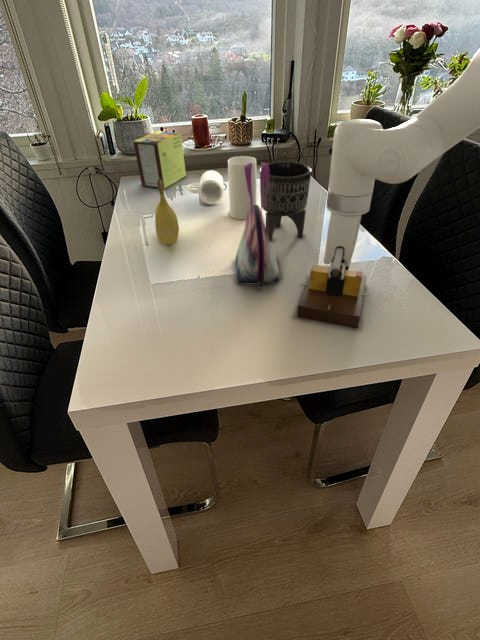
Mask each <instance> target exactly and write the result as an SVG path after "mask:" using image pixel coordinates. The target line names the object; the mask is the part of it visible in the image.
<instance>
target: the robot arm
mask: <svg viewBox="0 0 480 640" xmlns="http://www.w3.org/2000/svg"><path fill="white" fill-rule="evenodd" d="M478 129H480V48H478V49H477V51H476V52H475V53H474V55H473V57H472V59H471V60H470V62H469V64H468V65H467V67H466V68H465V69H464V70H463V72H462V73H461V74H460V76H458V77H457V78H456V79H455V80H454V81H453V82H452V83H451V84H450V85H449V86H448V87H447V88H446V89H445V90H444V91H442V92H441V93H440V94H439V95H438V96H437V97H436V98H435V99H433V100H432V101H431V102H430V103H428V104H427V105H426V106H425V107H424V108H423V109H421V110H420V111H419V112H418V113H416V114H415V115H414V116H413V117H412V118H410V119H409V120H407V121H405V122H403V123H401V124H399V125H398V126H395V127H391V128H387V129H384V127H383V125H382V123H380V122H379V121H376V120H373V119H366V118H354V119H348V120H347V119H346V120H343V121H341V122H340V123H338V124H337V125H336V126H335V129H334V132H333V138H332V139H333V140H332V149H331V158H330V168H329V178H328V187H327V196H326V209H327V211H329V212H330V216H329V221H328V227H327V235H326V243H325V250H324V256H323V263H324V265H330V266H329V267H330V270H329V276H328V277H327V285H326V294H327V295H333V296H340V297H341V296H342V295H343V288H344V282H345V278H344V273H345V270H350V264H351V262H352V258H353V255H354V252H355V249H356V244H357V240H358V235H359V231H360V227H361V226H360V225H361V221H362V215H365V214H367V213H368V212H370V209H371V205H372V199H373V195H374V188H375V182H376V180H377V181H380V182H382V183H386V184H389V185H390V184H391V185H397V184H402V183H405V182H407V181H409V180H411V179H412V178H413V177H414V176H416V175H417V174H418V173H420V172H421V171H422V170H423V169H425V168H426V167H427V166H428V165H431V163H433V162H435V160H437V159H438V158H439V157H441V156H442V155H443V154H444V153H446V152H447V151H449V150H450V149H452V148H453V147H454V146H456V145H457V144H459V143H460V142H461V141H462V140H465V139H466V138H467V137H468V136H470V135H471V134H473V133H474V132H476V131H477V130H478ZM340 269H342V273H341V271H340Z"/></svg>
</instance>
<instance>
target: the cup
mask: <svg viewBox="0 0 480 640" xmlns="http://www.w3.org/2000/svg"><path fill="white" fill-rule="evenodd" d="M249 163H252V170H251V188H252V202H253V205H258V204H257V200H258V199H257V197H258V195H257V194H258V193H257V191H258V190H257V188H258V187H257V158H255V157H253V156H248V155H240V156H233V157H230V158H229V159H228V160H227V173H228V174H227V175H228V194H229V195H228V196H229V214H230V215H229V216H230V217H231V218H233V219H236V220H246V218H247V213H249V209H250V207H251V205H250V196H249V191H248V187H247V182H246V175H245V168H244V167H245V165H247V164H249Z"/></svg>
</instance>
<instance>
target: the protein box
mask: <svg viewBox="0 0 480 640" xmlns="http://www.w3.org/2000/svg"><path fill="white" fill-rule="evenodd" d="M132 143H133V148H134V153H135V157H136V162H137V167H138V173H139V176H140V177H139V178H140V183H141V186H143V187H149V188H157V189H158V185H157V181H158V180H159V179H161V180H163V182H164V188H165V189H166V188H168V187H170V186H172V185H174V184H175V183H177V182H178V181H180V180H181V179H183V178H185V177H186V176H187V174H186V165H185V155H184V148H183V147H184V146H183V140H182V132H173V131H161V130H157V131H154V132H151V133H150V134H147V135H144V136H143V137H140V138H138V139H134V140H133V142H132Z"/></svg>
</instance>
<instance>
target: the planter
mask: <svg viewBox="0 0 480 640" xmlns="http://www.w3.org/2000/svg"><path fill="white" fill-rule="evenodd" d="M267 164H268V166H269V170H270V178H269V186H268V191H267V198H266V179H265V178H264V181H263V187H262V210H263V211H264V212H265V228H266V227H267V234H268V238H269V240H270V241H273V239H274V238H273V236H274V232H275V228H280V227H281V224H282V217H288V218H289V219H291V221H292V222H293V223H294V224H295V227H296V231H297V232H296V233H297V238H302V237H303V236H304V230H305V229H304V228H305V221H306V216H307V215H306V213H307V209H306V208H307V205H308V199H309V191H310V184H311V177H312V168H311V167H310V166H309V165H307V164H305V163H302V162H297V161H288V160H287V161H285V160H283V161H274V162H268V163H267ZM261 168H262V166H261V167H260V168H259V180H260V179H261Z"/></svg>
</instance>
